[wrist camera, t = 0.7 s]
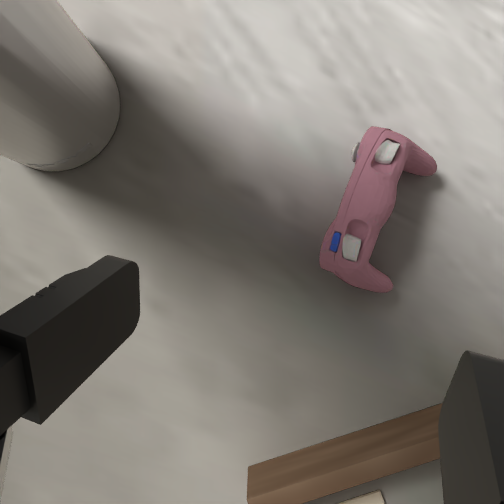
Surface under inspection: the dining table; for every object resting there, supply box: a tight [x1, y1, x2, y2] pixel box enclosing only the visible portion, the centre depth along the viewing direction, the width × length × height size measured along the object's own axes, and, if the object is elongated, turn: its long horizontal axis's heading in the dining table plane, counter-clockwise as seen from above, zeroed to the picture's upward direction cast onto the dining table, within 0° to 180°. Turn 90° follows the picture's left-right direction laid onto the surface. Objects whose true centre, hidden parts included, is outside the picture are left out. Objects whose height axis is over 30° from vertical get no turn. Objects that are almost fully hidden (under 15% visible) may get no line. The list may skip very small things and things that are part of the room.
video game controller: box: [319, 126, 437, 293], centre depth 27 cm, size 10×5×7 cm, turn 159°
